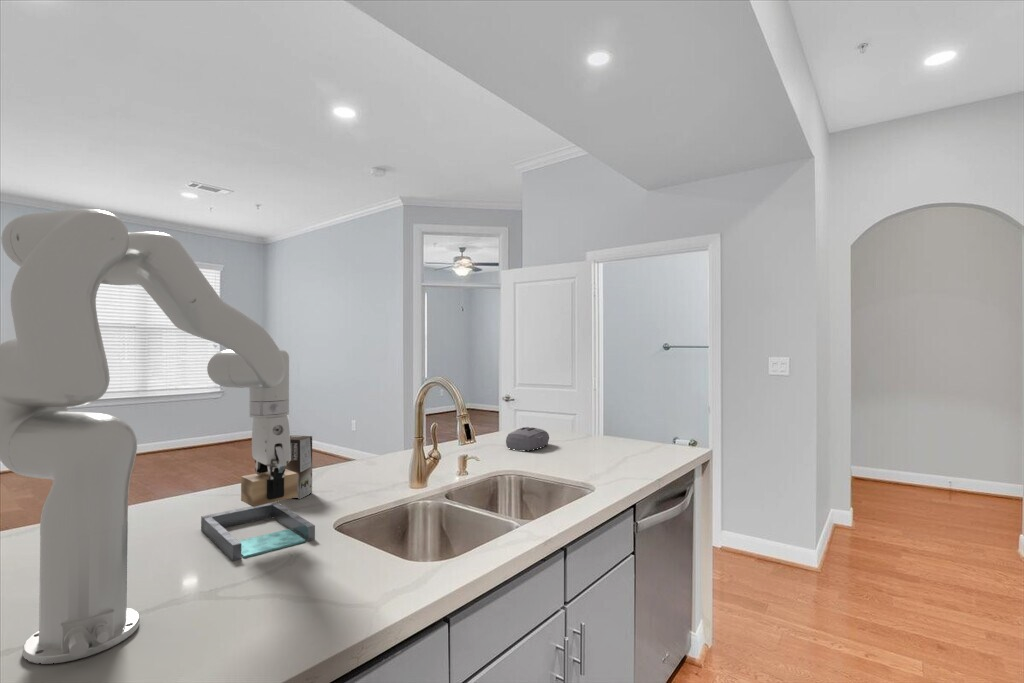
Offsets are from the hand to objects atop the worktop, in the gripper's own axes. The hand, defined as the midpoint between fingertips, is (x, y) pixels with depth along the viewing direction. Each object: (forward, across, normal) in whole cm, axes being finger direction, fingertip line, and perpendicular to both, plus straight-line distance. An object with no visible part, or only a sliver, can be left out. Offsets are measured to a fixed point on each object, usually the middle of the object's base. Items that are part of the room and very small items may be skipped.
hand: (269, 493), depth 108 cm
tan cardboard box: (+1, 0, 0) cm, 1 cm away
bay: (+10, +6, 0) cm, 12 cm away
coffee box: (+11, +31, -17) cm, 37 cm away
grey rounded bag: (+12, +34, -114) cm, 120 cm away
